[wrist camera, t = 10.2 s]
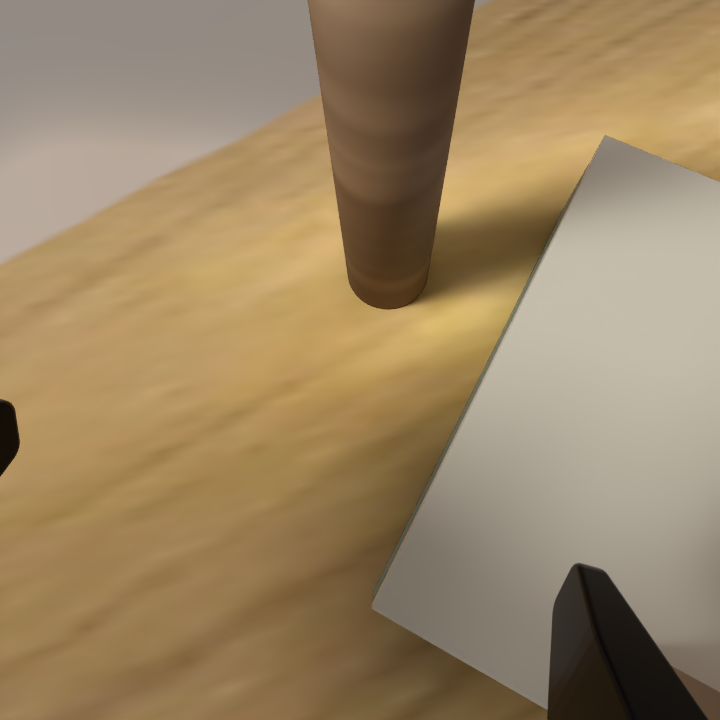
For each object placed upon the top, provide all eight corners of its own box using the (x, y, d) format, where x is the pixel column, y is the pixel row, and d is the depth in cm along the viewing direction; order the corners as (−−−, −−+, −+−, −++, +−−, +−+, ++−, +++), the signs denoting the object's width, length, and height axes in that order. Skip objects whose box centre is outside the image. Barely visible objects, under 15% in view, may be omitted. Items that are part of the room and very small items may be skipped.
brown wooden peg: (405, 322, 18) (443, -67, 6) (333, 287, 19) (242, -141, 7) (441, 255, 19) (541, -221, 7) (371, 222, 19) (348, -281, 7)
